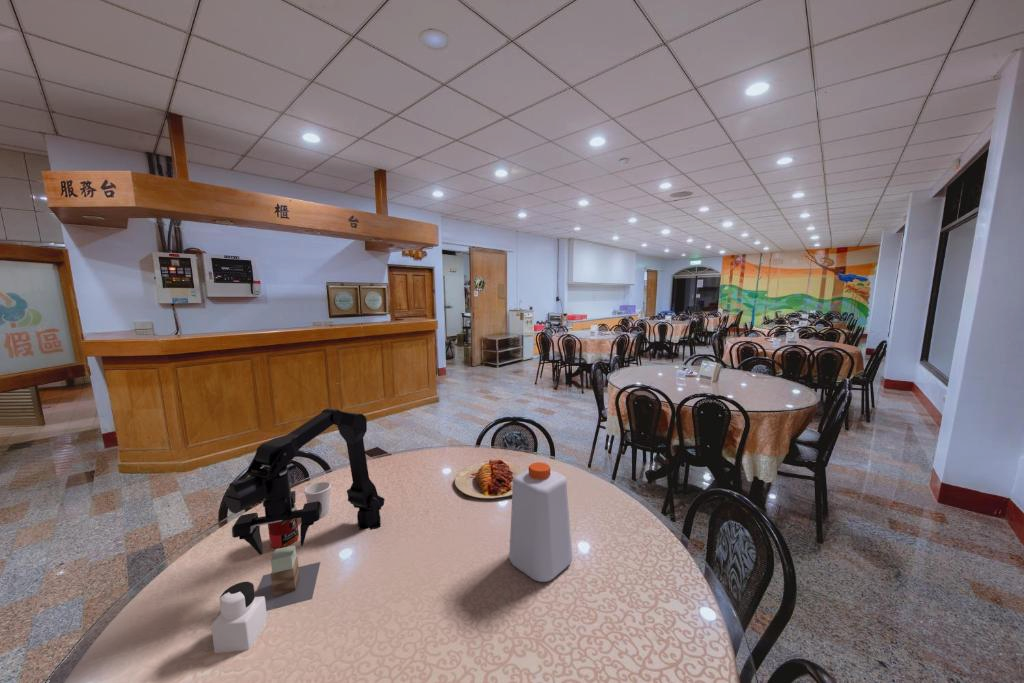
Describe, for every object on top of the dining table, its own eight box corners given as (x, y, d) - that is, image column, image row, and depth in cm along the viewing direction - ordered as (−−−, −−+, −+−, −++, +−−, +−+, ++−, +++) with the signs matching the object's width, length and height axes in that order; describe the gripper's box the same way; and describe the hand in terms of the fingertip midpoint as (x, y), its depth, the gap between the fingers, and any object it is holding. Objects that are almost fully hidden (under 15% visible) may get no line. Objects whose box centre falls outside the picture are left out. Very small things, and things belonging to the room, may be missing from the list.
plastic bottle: (538, 536, 115) (537, 450, 112) (578, 560, 104) (578, 465, 101) (503, 561, 104) (500, 467, 101) (543, 590, 93) (542, 485, 90)
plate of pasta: (543, 499, 135) (542, 481, 135) (449, 504, 136) (447, 486, 135) (538, 464, 166) (537, 449, 166) (461, 468, 167) (460, 453, 166)
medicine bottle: (236, 626, 85) (230, 578, 84) (268, 623, 86) (263, 575, 84) (213, 655, 78) (207, 604, 77) (249, 652, 79) (243, 601, 77)
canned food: (286, 551, 110) (282, 517, 109) (263, 548, 112) (260, 514, 111) (305, 535, 118) (302, 503, 117) (283, 533, 119) (280, 501, 118)
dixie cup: (337, 508, 133) (335, 481, 132) (323, 521, 125) (321, 494, 124) (316, 507, 134) (313, 481, 133) (300, 520, 126) (298, 493, 125)
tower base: (299, 577, 99) (298, 566, 99) (295, 590, 94) (294, 580, 94) (278, 582, 97) (276, 571, 97) (272, 596, 93) (271, 585, 92)
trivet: (320, 563, 105) (320, 561, 105) (312, 600, 92) (312, 598, 92) (263, 577, 100) (263, 575, 100) (246, 618, 87) (245, 616, 87)
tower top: (298, 566, 99) (297, 556, 98) (294, 580, 94) (293, 569, 94) (276, 571, 97) (275, 561, 97) (271, 585, 92) (270, 574, 92)
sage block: (296, 557, 98) (295, 545, 98) (292, 568, 94) (291, 556, 93) (276, 561, 97) (275, 549, 96) (272, 573, 92) (270, 560, 92)
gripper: (322, 471, 104) (326, 523, 105) (244, 484, 97) (249, 539, 99) (316, 490, 93) (320, 547, 95) (228, 505, 87) (234, 566, 89)
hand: (282, 549), depth 95 cm, fingers open, 9 cm apart
